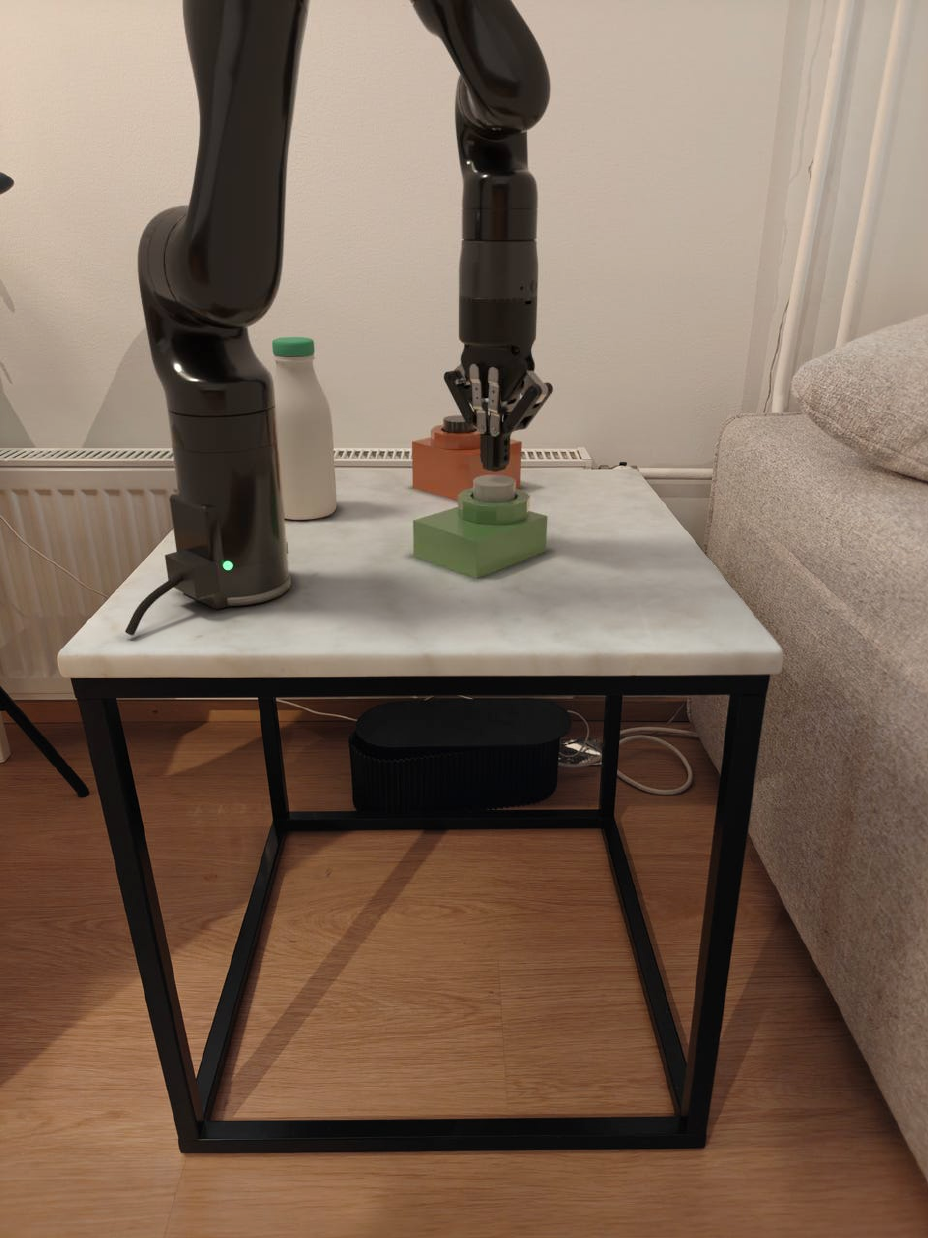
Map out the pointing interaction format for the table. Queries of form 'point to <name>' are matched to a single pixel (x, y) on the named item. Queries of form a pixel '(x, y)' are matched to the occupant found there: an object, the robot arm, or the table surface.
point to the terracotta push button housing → (455, 462)
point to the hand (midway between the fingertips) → (494, 469)
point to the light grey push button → (494, 488)
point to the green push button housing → (481, 535)
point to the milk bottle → (303, 432)
